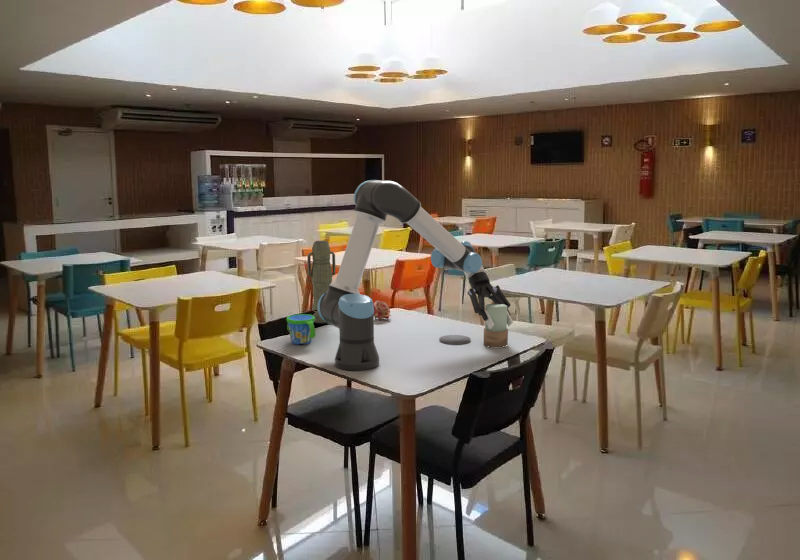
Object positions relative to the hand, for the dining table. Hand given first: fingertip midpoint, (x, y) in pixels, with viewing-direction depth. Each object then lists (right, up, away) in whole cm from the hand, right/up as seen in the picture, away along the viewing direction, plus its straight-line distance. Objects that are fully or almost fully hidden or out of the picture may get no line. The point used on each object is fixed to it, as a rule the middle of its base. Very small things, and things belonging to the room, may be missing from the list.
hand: (501, 325), depth 242 cm
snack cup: (-75, -7, +8) cm, 76 cm away
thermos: (-71, -1, +43) cm, 83 cm away
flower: (-46, -1, +46) cm, 65 cm away
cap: (-2, -2, +3) cm, 4 cm away
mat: (-16, -6, +11) cm, 21 cm away
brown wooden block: (-2, -7, +4) cm, 9 cm away
